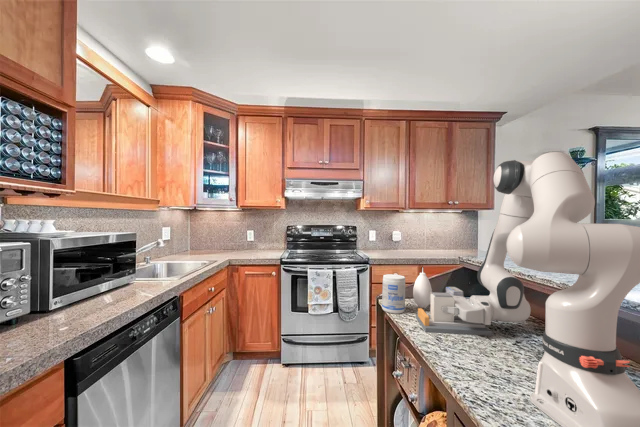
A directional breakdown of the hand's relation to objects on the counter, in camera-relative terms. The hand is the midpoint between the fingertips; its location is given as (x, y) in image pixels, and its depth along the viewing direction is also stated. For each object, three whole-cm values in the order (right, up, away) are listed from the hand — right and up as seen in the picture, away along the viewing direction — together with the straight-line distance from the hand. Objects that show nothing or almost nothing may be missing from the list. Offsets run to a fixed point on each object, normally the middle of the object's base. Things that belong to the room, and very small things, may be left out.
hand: (439, 306), depth 104 cm
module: (+1, -5, 0) cm, 5 cm away
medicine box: (+15, -8, +20) cm, 27 cm away
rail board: (+4, -7, -1) cm, 8 cm away
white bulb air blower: (+1, -8, +21) cm, 22 cm away
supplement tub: (-13, -7, +16) cm, 22 cm away
